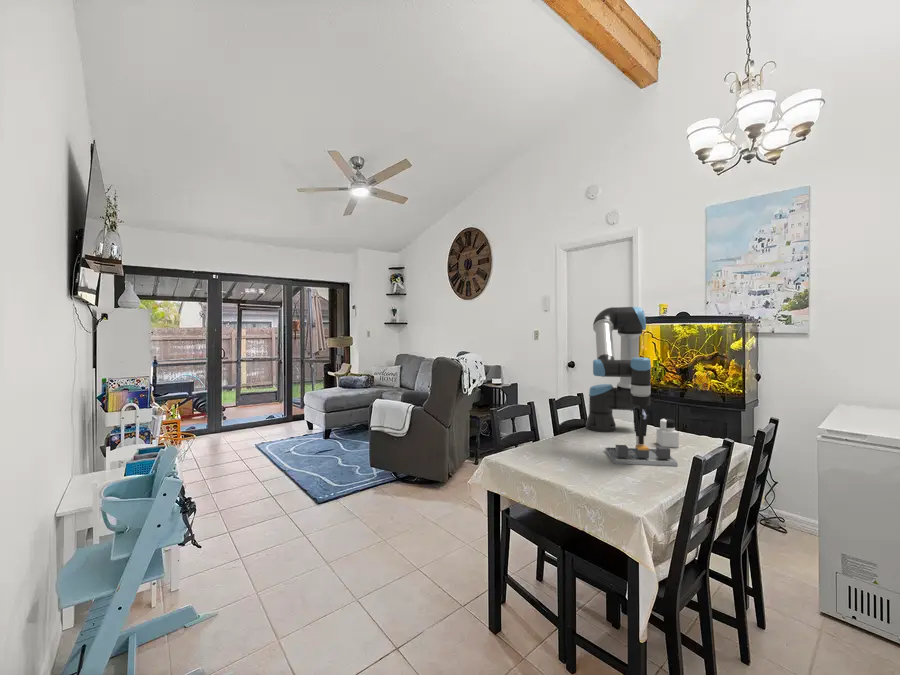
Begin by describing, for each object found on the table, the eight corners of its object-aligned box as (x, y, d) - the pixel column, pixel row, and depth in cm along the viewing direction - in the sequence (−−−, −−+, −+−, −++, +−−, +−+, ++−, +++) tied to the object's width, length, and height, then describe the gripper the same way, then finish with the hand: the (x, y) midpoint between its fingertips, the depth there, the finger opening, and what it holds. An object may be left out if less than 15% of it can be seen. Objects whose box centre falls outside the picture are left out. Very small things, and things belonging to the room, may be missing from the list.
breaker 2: (656, 455, 168) (656, 446, 168) (666, 455, 167) (666, 446, 167) (659, 458, 164) (659, 449, 164) (670, 459, 164) (670, 449, 163)
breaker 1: (615, 454, 171) (615, 444, 170) (625, 454, 170) (625, 445, 170) (617, 457, 167) (617, 447, 166) (628, 457, 166) (628, 448, 166)
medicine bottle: (672, 442, 191) (672, 417, 191) (679, 447, 184) (679, 421, 184) (656, 442, 192) (656, 417, 191) (662, 447, 185) (662, 421, 184)
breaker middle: (635, 454, 170) (635, 445, 169) (645, 454, 169) (645, 445, 169) (638, 457, 166) (638, 448, 165) (648, 458, 165) (648, 448, 165)
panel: (605, 451, 181) (605, 447, 181) (662, 453, 177) (662, 449, 177) (613, 463, 165) (614, 459, 165) (677, 466, 161) (677, 461, 161)
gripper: (626, 392, 176) (626, 445, 177) (635, 397, 163) (635, 455, 164) (645, 392, 175) (644, 446, 176) (655, 398, 162) (654, 456, 163)
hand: (640, 450), depth 170 cm, fingers closed
